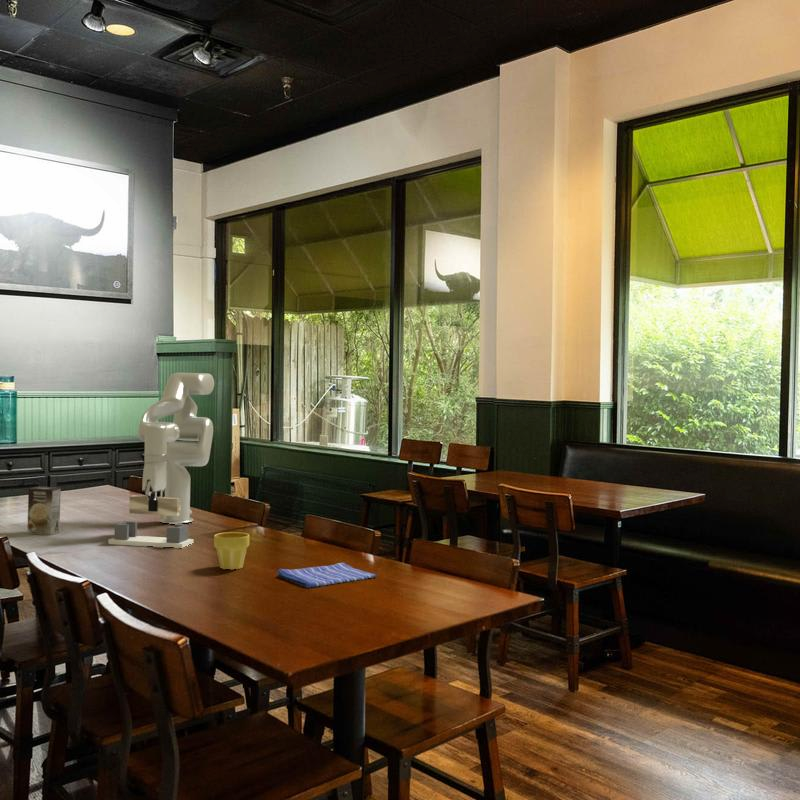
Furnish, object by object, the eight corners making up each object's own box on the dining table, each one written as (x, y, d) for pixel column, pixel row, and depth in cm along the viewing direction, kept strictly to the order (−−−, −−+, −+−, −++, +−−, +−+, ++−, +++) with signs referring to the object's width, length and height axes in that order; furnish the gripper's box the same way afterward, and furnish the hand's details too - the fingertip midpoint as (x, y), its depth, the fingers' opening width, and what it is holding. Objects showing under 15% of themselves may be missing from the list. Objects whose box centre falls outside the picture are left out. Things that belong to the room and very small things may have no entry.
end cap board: (121, 539, 277) (122, 520, 277) (193, 543, 273) (193, 524, 273) (108, 544, 268) (108, 524, 268) (182, 548, 264) (182, 528, 264)
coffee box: (26, 534, 282) (27, 488, 282) (36, 530, 288) (37, 486, 288) (51, 535, 281) (52, 489, 281) (60, 532, 287) (61, 487, 287)
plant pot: (211, 564, 243) (212, 532, 242) (246, 563, 246) (247, 531, 246) (214, 572, 233) (215, 538, 233) (250, 570, 236) (251, 537, 236)
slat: (132, 512, 289) (133, 495, 289) (180, 514, 286) (180, 498, 286) (129, 513, 287) (129, 496, 286) (177, 516, 284) (177, 499, 283)
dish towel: (274, 578, 230) (274, 568, 230) (342, 568, 245) (343, 559, 245) (306, 591, 217) (307, 580, 216) (377, 580, 231) (377, 570, 231)
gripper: (156, 455, 294) (155, 505, 295) (134, 461, 278) (134, 514, 279) (175, 456, 293) (174, 507, 294) (155, 462, 277) (154, 515, 278)
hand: (155, 510), depth 286 cm, fingers closed on slat, 2 cm apart
